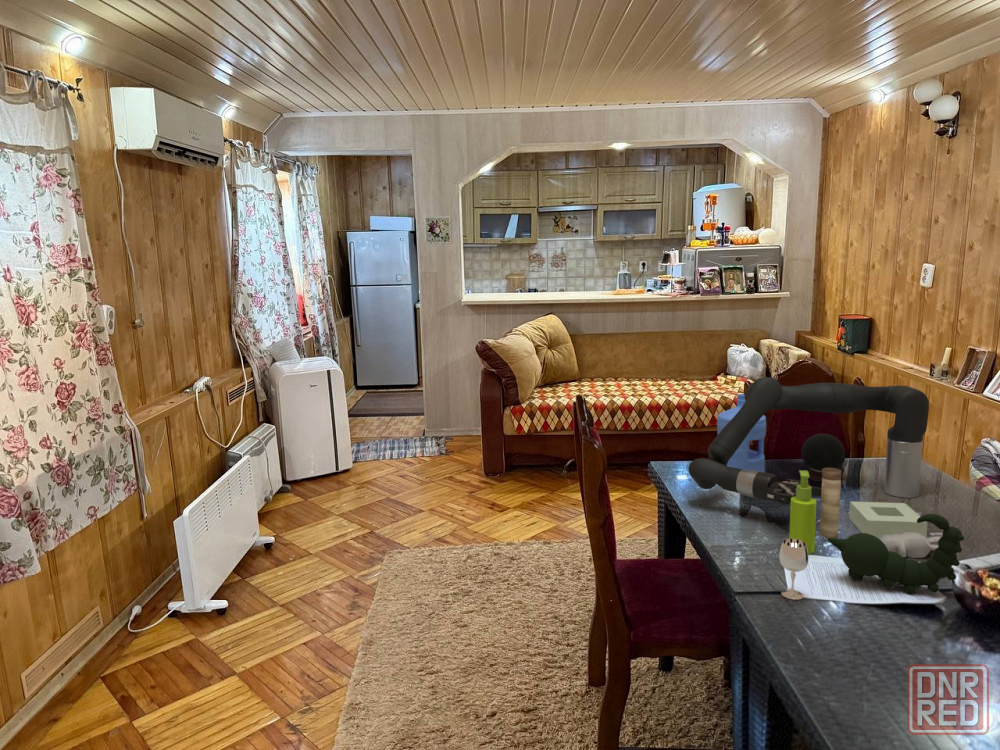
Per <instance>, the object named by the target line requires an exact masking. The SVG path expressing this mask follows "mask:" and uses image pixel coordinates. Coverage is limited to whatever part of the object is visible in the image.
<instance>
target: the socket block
mask: <svg viewBox="0 0 1000 750" xmlns="http://www.w3.org/2000/svg"><path fill="white" fill-rule="evenodd" d="M848 515H849V516H848V518H849V520H850V522H852V523H853V525H854V524H855V525H854V526H855V527H856V528H857V529H858V530H859V531H860V533H868V534H871V535H873V536H875V537H877V538H880V537H881V536H883V535H891V534H899V535H901V534H903V533H905V532H918V533H919V534H921V535H923V536H924V537H926V538H928V537H927V534H928V523H929V522H921V523H917V519H918V518H919V517H921V516H922V515H920V514H918V513H917V511H914V509H912V508H911V507H910V506H909V505H908V504H907V503H905V502H880V501H879V502H877V501H875V502H874V501H849V514H848Z"/></svg>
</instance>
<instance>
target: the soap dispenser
mask: <svg viewBox="0 0 1000 750" xmlns="http://www.w3.org/2000/svg"><path fill="white" fill-rule="evenodd" d="M798 473H799V476H800V481H801V484H799V485H797V492H796V496H795V497H792V498H791V503H790V511H789V515H790V516H789V535H788V536H789V538H788V539H798V540H801V541H803V542H805V543H806V546H807V550H808V555H811V553H812V554H813V552H814V553H815V546H816V542H815V541H816V525H817V524H816V523H817V522H816V521H817V505H818V503H817V500H816V499H815V498H813V497H812V495H811V491H812V487H813V486H812V485H810V484H809V485H808V483H809V480H808V478H809V473H808V471H806V470H800V469H799V470H798ZM811 486H812V487H811Z"/></svg>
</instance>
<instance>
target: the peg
mask: <svg viewBox="0 0 1000 750" xmlns="http://www.w3.org/2000/svg"><path fill="white" fill-rule="evenodd" d="M842 471H843V470H841V469H840V468H839V469H836V468H823V469H822V483H821V488H822V491H821V497H820V498H821V499H820V515H819V518H820V519H819V536H820V535H821V536H823V537H825V538H824V539H827V538H837V539H839V528H840V527H839V523H840V522H839V521H840V509H841V508H840V507H841V506H840V505H841V484H842V480H841V479H842ZM821 536H820V537H821ZM823 537H822V538H823Z"/></svg>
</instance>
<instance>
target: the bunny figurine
mask: <svg viewBox="0 0 1000 750" xmlns="http://www.w3.org/2000/svg"><path fill="white" fill-rule="evenodd" d="M941 537H942V536H940V535H939V536H938V535H935V536H933V537H929V538H928V537H924V536H923V535H921V534H919V533H918V532H905V533H903V534H901V535H899V534H891V535H883V536H881V537H880V538H879V539H880V540H881V541H882V542H883V543H884V544H885V545H886V547H887V549H888V551H892V552H896V553H898V554H900V555H901V556H902V557H903V558H907V557H909V558H910V559H912V558H915V559H919V558H921V559H922V558H926V556H927V555H928V554H929V553H930V552H931V551H933V552H934V550H935V549H936V548H937V547H938V541H939V539H940V538H941Z"/></svg>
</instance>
